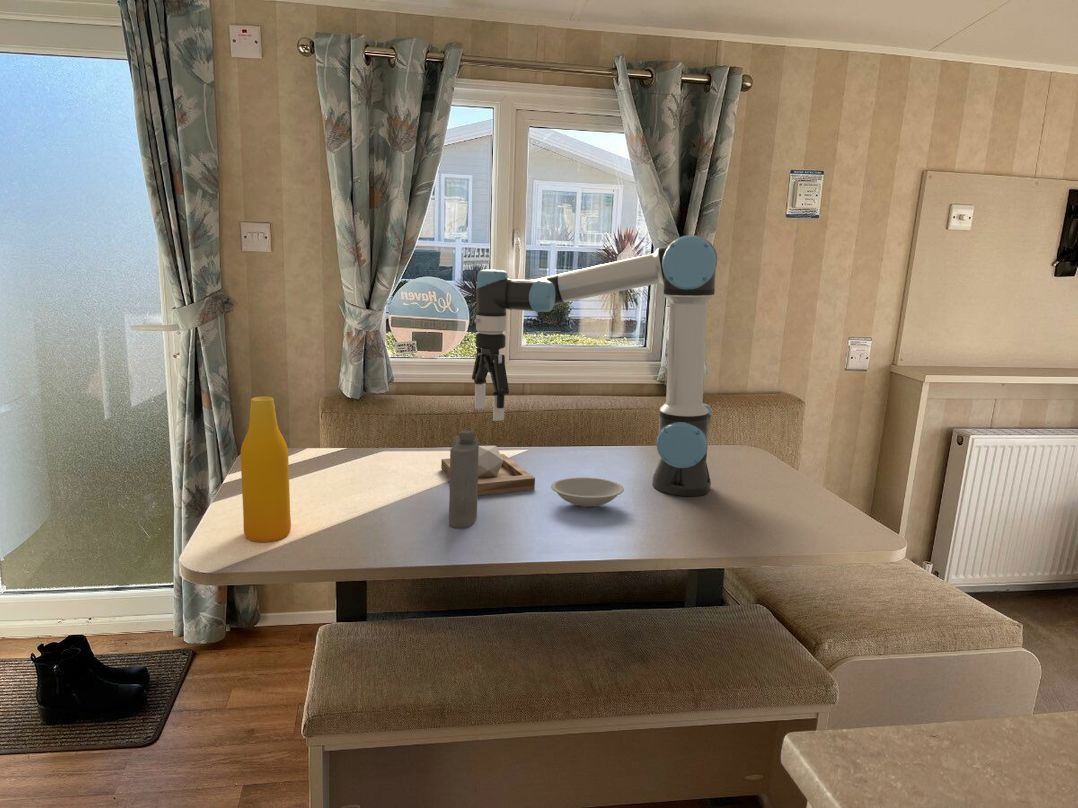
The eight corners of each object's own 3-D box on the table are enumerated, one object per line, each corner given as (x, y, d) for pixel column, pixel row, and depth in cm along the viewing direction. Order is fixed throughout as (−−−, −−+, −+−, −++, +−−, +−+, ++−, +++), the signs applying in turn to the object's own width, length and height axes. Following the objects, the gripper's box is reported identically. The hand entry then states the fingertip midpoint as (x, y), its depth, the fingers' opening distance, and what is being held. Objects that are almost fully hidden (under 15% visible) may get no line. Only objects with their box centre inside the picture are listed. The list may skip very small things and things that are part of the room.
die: (493, 485, 190) (512, 452, 192) (464, 468, 189) (483, 435, 191) (489, 486, 198) (507, 455, 200) (461, 469, 197) (480, 438, 199)
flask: (474, 529, 162) (476, 441, 157) (447, 528, 162) (449, 440, 157) (478, 505, 176) (481, 423, 172) (454, 504, 176) (456, 422, 172)
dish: (613, 495, 187) (615, 476, 186) (629, 517, 173) (631, 496, 172) (545, 496, 184) (546, 477, 183) (556, 518, 170) (557, 497, 169)
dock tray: (534, 489, 189) (535, 478, 188) (467, 496, 182) (467, 484, 181) (502, 464, 209) (503, 453, 208) (441, 469, 201) (441, 459, 201)
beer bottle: (276, 545, 149) (271, 405, 143) (234, 540, 151) (227, 401, 144) (299, 528, 158) (295, 395, 152) (259, 523, 160) (253, 392, 153)
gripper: (460, 326, 196) (459, 404, 201) (494, 339, 174) (492, 426, 179) (487, 325, 199) (485, 402, 204) (523, 338, 177) (521, 424, 182)
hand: (488, 414), depth 191 cm, fingers open, 13 cm apart
